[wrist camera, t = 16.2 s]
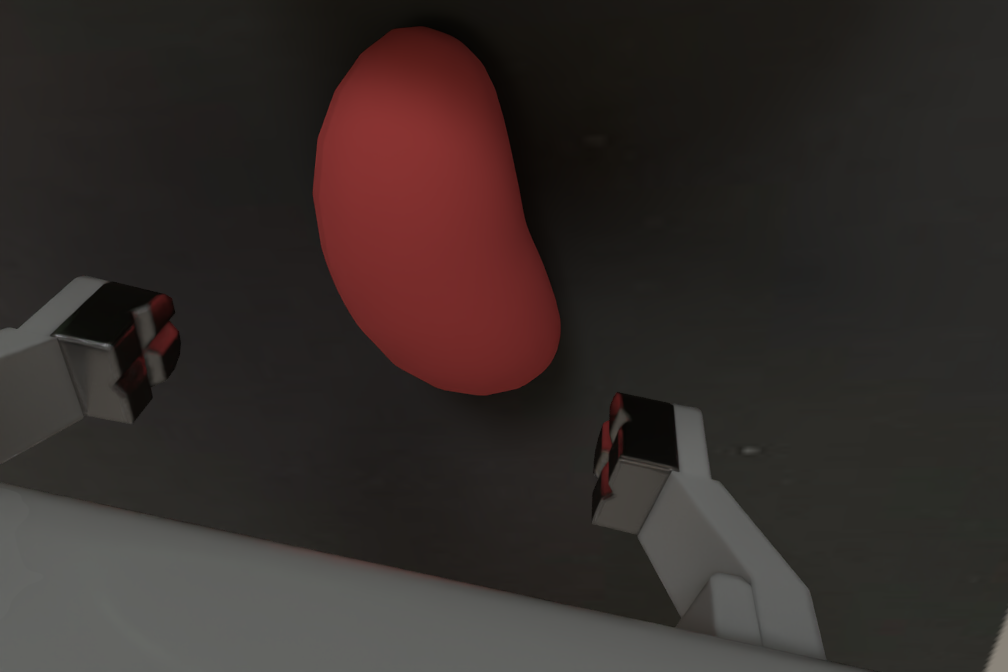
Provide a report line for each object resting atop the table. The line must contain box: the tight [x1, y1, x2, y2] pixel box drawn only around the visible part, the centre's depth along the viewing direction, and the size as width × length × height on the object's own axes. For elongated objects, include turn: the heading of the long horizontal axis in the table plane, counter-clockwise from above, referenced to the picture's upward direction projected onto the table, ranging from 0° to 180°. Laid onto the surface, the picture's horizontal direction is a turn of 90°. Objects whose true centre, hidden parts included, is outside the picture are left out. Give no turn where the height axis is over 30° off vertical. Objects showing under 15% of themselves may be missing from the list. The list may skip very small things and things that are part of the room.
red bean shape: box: [313, 26, 561, 395], centre depth 17 cm, size 5×9×6 cm
